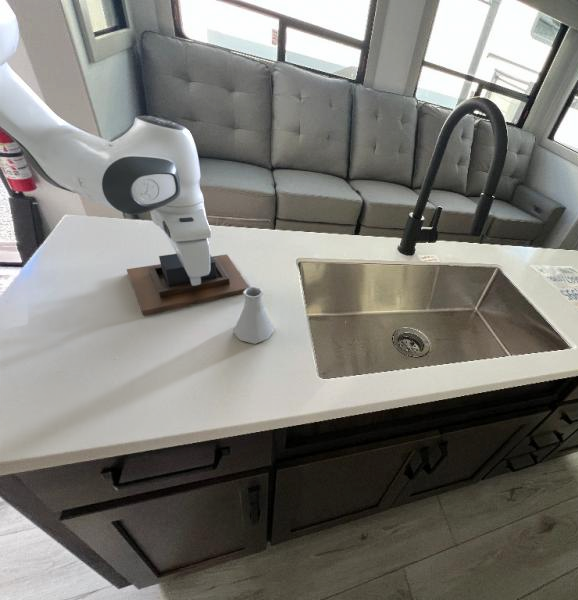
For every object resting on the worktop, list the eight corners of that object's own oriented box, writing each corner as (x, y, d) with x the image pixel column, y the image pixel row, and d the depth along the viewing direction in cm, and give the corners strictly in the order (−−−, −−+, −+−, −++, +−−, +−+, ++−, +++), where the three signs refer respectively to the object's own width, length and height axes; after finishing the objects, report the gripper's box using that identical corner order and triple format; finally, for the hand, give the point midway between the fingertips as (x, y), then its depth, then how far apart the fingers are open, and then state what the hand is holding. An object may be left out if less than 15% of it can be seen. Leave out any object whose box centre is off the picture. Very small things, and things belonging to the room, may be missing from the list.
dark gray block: (170, 290, 68) (165, 270, 65) (163, 275, 71) (158, 255, 68) (217, 280, 73) (215, 262, 70) (209, 268, 76) (207, 249, 73)
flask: (281, 329, 68) (282, 291, 62) (255, 349, 62) (253, 309, 56) (254, 314, 70) (252, 275, 64) (225, 332, 64) (221, 292, 58)
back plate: (143, 315, 62) (139, 304, 61) (127, 273, 70) (124, 263, 69) (250, 291, 75) (250, 282, 73) (227, 258, 83) (226, 248, 81)
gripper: (146, 190, 66) (159, 249, 74) (173, 238, 55) (185, 301, 63) (182, 189, 70) (191, 245, 78) (214, 234, 59) (220, 294, 67)
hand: (188, 271), depth 71 cm, fingers open, 8 cm apart
